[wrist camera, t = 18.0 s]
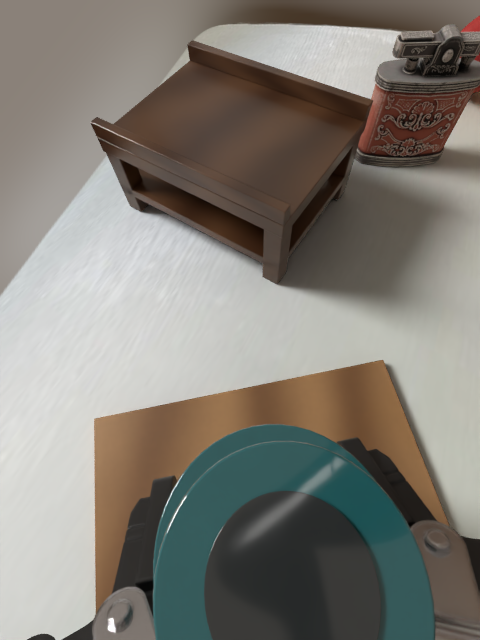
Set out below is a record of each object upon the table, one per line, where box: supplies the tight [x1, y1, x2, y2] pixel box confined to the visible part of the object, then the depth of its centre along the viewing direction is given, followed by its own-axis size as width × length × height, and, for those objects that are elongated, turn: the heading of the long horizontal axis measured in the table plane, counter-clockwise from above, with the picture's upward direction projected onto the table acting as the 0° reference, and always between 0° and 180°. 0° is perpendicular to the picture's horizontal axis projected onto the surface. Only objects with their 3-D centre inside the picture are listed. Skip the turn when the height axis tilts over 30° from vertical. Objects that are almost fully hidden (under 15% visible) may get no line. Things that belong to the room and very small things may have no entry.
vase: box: [153, 424, 436, 640], centre depth 11 cm, size 6×6×12 cm
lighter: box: [355, 24, 480, 167], centre depth 29 cm, size 8×3×10 cm, turn 88°
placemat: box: [94, 360, 450, 613], centre depth 20 cm, size 20×15×1 cm
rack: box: [91, 41, 373, 284], centre depth 28 cm, size 16×12×8 cm
